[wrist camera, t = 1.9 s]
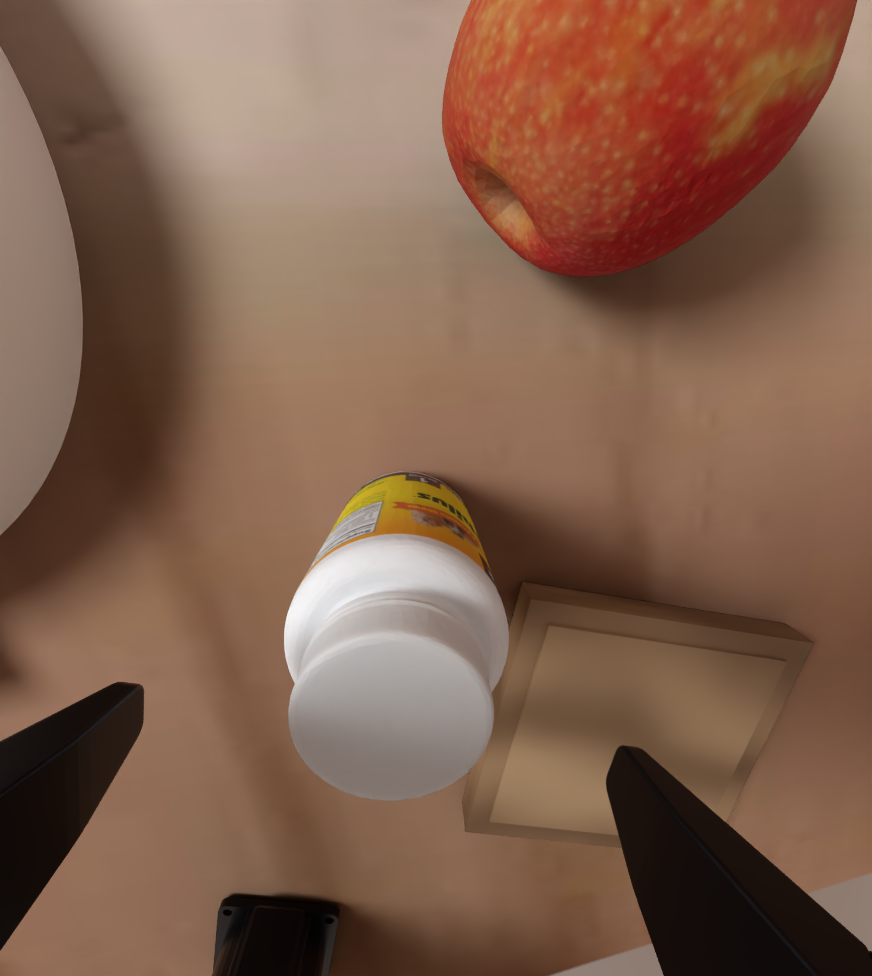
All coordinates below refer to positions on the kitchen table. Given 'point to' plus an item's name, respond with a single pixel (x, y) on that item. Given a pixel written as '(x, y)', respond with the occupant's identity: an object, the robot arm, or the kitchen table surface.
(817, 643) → the kitchen table surface
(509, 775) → the walnut base
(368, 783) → the supplement bottle
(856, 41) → the kitchen table surface
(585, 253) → the apple
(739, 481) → the kitchen table surface
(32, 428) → the white circle with bar
